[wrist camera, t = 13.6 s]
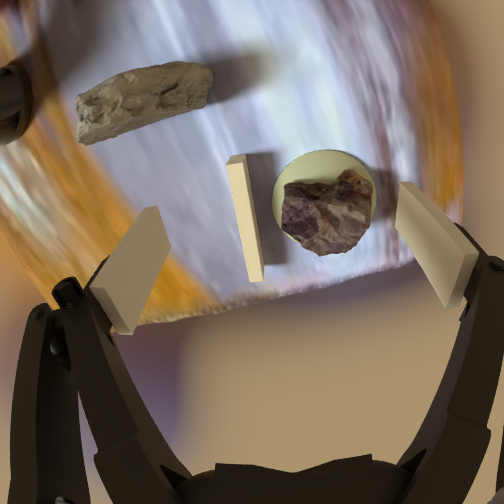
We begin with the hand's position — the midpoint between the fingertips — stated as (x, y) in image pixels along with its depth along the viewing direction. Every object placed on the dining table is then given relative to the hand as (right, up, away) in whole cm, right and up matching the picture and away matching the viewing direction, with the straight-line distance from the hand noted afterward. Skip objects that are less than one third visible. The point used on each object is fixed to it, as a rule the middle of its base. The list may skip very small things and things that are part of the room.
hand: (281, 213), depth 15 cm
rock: (+8, +5, +24) cm, 26 cm away
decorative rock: (-14, +18, +18) cm, 29 cm away
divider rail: (-2, +3, +26) cm, 27 cm away
